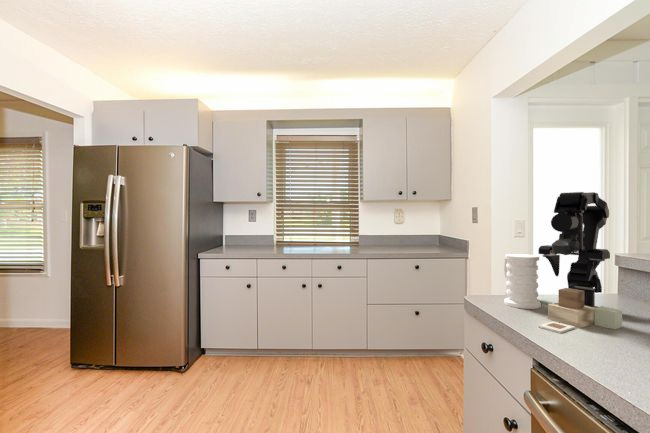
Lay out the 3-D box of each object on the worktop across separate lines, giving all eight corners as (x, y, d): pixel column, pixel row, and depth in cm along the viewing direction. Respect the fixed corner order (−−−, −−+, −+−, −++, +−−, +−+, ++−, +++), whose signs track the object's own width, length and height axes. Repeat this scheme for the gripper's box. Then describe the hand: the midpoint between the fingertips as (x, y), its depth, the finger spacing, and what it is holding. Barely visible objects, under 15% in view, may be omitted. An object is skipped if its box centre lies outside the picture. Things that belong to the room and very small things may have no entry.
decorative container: (507, 299, 137) (506, 253, 137) (542, 303, 130) (541, 254, 130) (501, 305, 127) (501, 256, 127) (539, 310, 121) (538, 258, 120)
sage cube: (601, 322, 108) (601, 306, 108) (622, 326, 104) (622, 309, 104) (594, 325, 105) (594, 308, 105) (615, 329, 101) (615, 312, 101)
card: (552, 322, 107) (552, 320, 107) (574, 328, 102) (574, 326, 102) (538, 327, 103) (538, 325, 103) (560, 333, 98) (560, 331, 98)
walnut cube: (566, 303, 112) (566, 287, 112) (584, 307, 108) (584, 290, 108) (558, 305, 109) (558, 289, 109) (576, 309, 105) (576, 292, 105)
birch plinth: (566, 316, 115) (566, 301, 115) (597, 324, 106) (597, 308, 106) (547, 320, 111) (547, 304, 111) (577, 328, 103) (577, 311, 103)
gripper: (529, 230, 119) (529, 276, 119) (593, 232, 103) (593, 286, 103) (547, 229, 125) (547, 273, 125) (610, 231, 109) (610, 282, 109)
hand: (572, 278), depth 115 cm, fingers open, 9 cm apart
